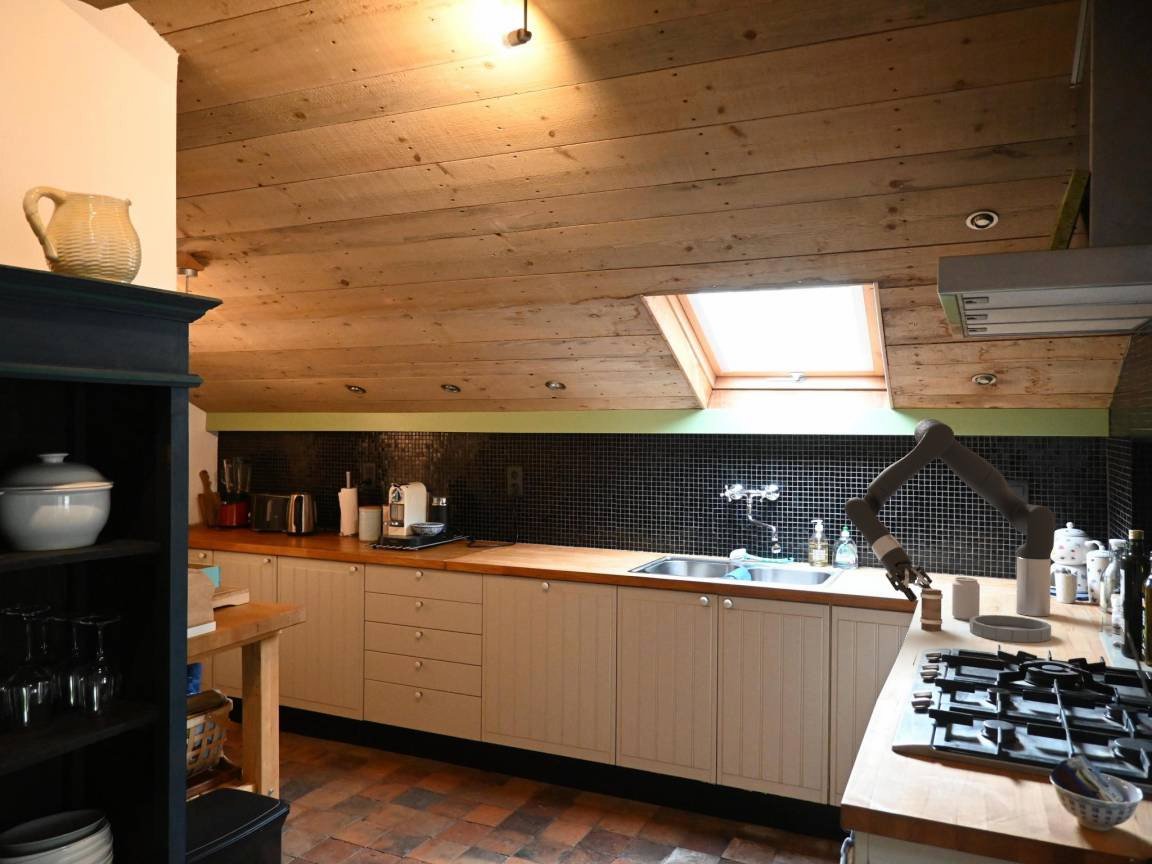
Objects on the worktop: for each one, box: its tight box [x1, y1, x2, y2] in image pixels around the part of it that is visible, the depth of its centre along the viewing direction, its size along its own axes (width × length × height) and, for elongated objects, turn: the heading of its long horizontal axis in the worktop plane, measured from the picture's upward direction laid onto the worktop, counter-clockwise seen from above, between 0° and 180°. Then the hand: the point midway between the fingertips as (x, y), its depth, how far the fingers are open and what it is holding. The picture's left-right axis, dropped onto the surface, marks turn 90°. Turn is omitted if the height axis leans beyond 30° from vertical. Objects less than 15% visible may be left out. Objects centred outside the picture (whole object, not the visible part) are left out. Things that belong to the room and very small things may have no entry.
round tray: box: [969, 614, 1052, 644], centre depth 248 cm, size 20×20×3 cm
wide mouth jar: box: [951, 576, 981, 622], centre depth 269 cm, size 8×8×12 cm
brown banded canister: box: [919, 588, 944, 632], centre depth 254 cm, size 6×6×11 cm
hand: (924, 599), depth 255 cm, fingers open, 8 cm apart
